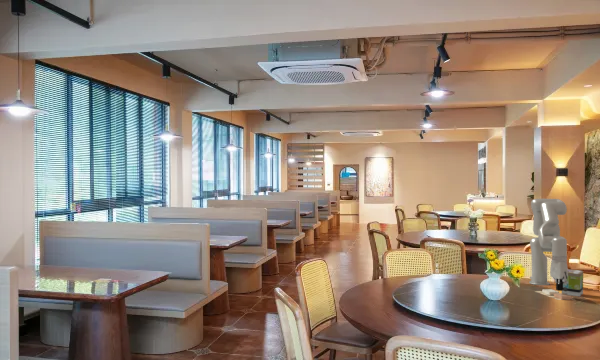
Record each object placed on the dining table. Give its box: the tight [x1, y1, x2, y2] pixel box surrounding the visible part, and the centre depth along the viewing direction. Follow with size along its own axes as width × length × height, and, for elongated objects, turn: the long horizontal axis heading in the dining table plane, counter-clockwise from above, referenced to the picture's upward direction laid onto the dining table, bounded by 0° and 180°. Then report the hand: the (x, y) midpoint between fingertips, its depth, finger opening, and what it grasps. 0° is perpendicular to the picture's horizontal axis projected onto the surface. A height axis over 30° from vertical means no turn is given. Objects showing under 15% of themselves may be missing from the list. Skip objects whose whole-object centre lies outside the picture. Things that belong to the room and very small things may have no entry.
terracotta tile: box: [554, 292, 573, 299], centre depth 264 cm, size 2×6×7 cm
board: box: [534, 290, 576, 301], centre depth 271 cm, size 22×11×1 cm, turn 5°
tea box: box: [561, 268, 584, 297], centre depth 278 cm, size 15×10×15 cm, turn 143°
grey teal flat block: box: [542, 288, 560, 295], centre depth 275 cm, size 2×6×7 cm
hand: (559, 290), depth 267 cm, fingers closed
